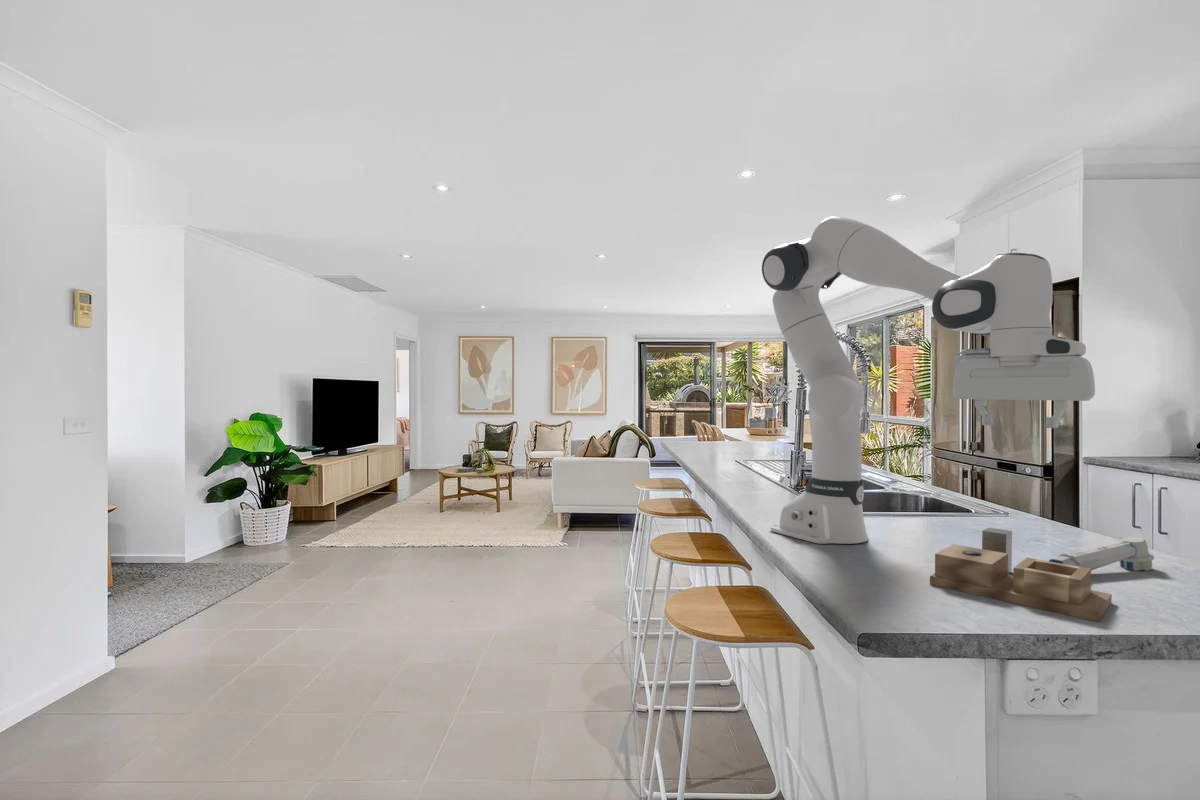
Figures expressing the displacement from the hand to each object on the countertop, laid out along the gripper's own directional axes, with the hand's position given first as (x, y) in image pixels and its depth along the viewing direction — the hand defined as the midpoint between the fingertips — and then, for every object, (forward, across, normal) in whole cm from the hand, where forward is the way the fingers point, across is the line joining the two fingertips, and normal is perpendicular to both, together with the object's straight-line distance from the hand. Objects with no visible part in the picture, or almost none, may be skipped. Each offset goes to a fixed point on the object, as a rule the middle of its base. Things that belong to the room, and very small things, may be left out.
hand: (1018, 426), depth 105 cm
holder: (+29, 0, 0) cm, 29 cm away
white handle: (+30, +8, +27) cm, 41 cm away
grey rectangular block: (+29, -6, +12) cm, 32 cm away
